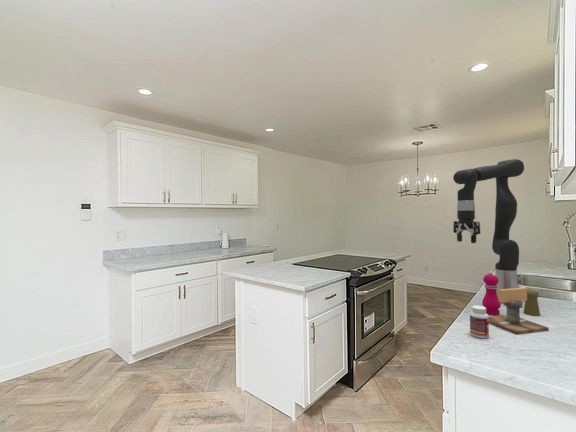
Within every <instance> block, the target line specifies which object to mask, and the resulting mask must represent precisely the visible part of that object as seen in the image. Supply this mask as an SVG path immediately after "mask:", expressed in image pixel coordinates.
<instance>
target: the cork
mask: <svg viewBox="0 0 576 432" xmlns="http://www.w3.org/2000/svg"><path fill="white" fill-rule="evenodd" d="M539 294H540V293H539V292H538V291H537V290H534V289H527V301H524V308H523V314H524V315H528V316H532V317H533V316H534V317H540V316H541V311H540V307H539V300H538V298H539V297H540V295H539Z"/></svg>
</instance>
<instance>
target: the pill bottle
mask: <svg viewBox="0 0 576 432" xmlns="http://www.w3.org/2000/svg"><path fill="white" fill-rule="evenodd" d="M485 312H486V308H485V307H484V306H483V305H472V306H471V311H470V312H469V333H470V335H471V336H472V337H475V338H477V339H478V338H479V339H487V338H489V336H490V327H489V325H490V324H489V317H490V316H489V315H488V314H486V313H485Z"/></svg>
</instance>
